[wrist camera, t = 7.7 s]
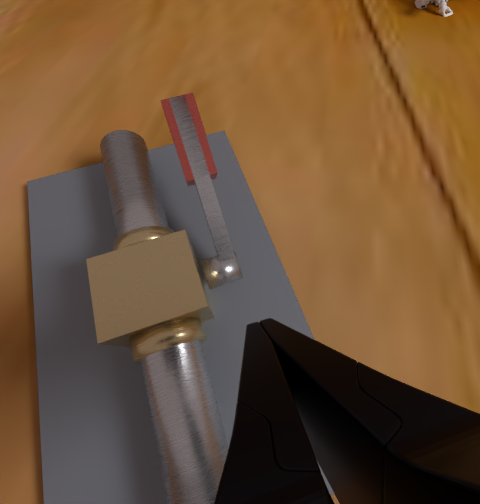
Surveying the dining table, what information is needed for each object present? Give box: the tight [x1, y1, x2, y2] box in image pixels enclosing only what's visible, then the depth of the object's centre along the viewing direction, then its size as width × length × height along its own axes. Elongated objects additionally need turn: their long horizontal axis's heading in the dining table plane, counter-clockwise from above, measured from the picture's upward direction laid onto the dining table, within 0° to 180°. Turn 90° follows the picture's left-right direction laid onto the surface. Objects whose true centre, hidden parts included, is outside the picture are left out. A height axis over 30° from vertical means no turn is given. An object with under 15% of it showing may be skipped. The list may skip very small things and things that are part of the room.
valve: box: [86, 130, 229, 504], centre depth 17 cm, size 26×6×5 cm, turn 19°
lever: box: [161, 93, 243, 289], centre depth 17 cm, size 2×3×12 cm
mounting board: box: [27, 131, 334, 504], centre depth 20 cm, size 28×18×1 cm, turn 19°
